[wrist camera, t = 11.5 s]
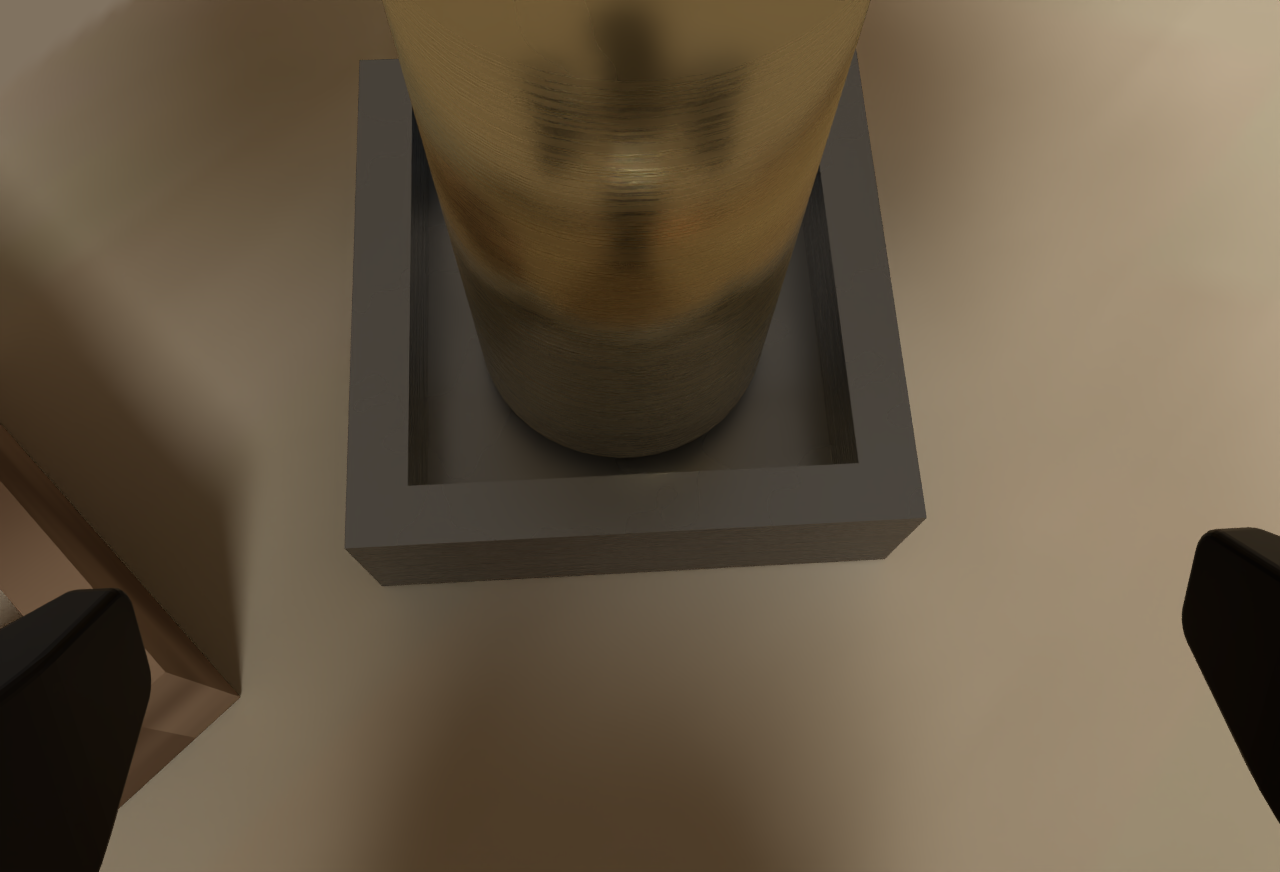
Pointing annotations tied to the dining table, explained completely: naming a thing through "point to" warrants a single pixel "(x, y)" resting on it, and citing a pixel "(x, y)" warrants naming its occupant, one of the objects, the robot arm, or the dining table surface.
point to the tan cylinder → (623, 193)
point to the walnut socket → (79, 559)
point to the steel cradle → (608, 486)
